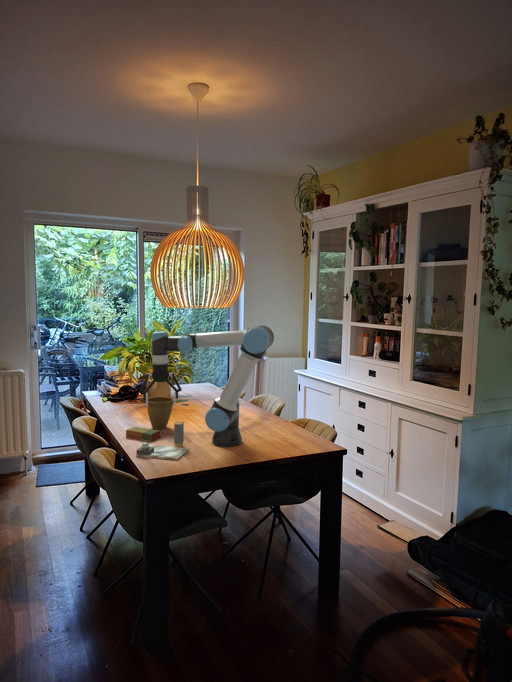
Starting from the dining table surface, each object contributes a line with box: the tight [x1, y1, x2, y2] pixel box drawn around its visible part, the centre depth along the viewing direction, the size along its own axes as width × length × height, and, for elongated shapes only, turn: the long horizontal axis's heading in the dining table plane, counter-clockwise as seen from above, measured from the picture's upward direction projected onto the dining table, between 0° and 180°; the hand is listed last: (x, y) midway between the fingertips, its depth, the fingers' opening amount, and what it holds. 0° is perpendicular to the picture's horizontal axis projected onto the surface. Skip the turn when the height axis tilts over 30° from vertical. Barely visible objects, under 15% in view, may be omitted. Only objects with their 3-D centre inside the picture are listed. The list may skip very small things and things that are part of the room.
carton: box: [125, 426, 161, 442], centre depth 259 cm, size 8×16×4 cm, turn 66°
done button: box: [141, 441, 150, 450], centre depth 232 cm, size 3×3×3 cm
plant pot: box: [146, 396, 174, 430], centre depth 277 cm, size 15×15×16 cm
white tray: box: [136, 443, 189, 461], centre depth 235 cm, size 20×15×3 cm
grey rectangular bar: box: [173, 421, 185, 448], centre depth 245 cm, size 4×4×12 cm
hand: (161, 406), depth 246 cm, fingers open, 13 cm apart
